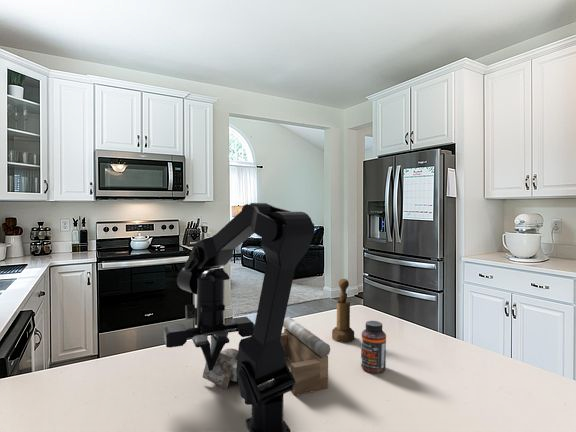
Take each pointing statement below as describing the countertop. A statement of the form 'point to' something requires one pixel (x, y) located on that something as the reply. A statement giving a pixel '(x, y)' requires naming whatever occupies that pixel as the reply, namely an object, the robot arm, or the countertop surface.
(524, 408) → the countertop surface
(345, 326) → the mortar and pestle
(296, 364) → the cradle
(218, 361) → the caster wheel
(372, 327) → the supplement bottle
